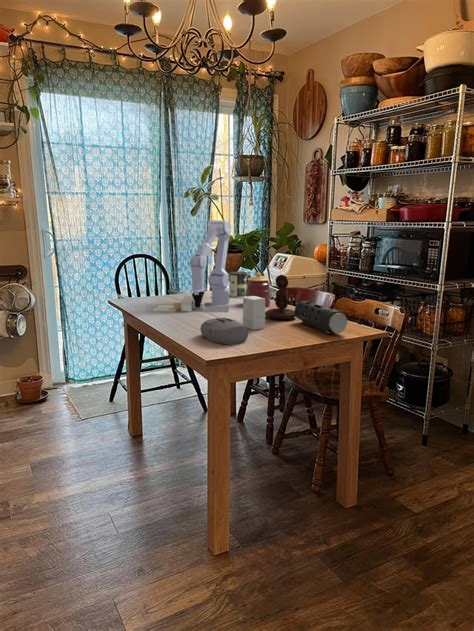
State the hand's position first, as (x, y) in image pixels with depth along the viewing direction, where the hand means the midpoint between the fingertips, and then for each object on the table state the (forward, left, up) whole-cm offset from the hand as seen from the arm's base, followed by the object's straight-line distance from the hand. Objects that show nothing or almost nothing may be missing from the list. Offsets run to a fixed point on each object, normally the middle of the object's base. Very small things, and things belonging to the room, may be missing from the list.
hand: (198, 306), depth 245 cm
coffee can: (-19, -40, -2) cm, 45 cm away
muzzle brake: (-55, +38, -2) cm, 67 cm away
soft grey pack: (-15, +56, -2) cm, 58 cm away
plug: (+5, 0, -1) cm, 5 cm away
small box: (-27, +37, -2) cm, 46 cm away
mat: (+3, 0, -1) cm, 3 cm away
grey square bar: (+5, 0, -1) cm, 5 cm away
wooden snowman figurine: (-40, +17, -2) cm, 44 cm away
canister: (-30, -13, -2) cm, 33 cm away
